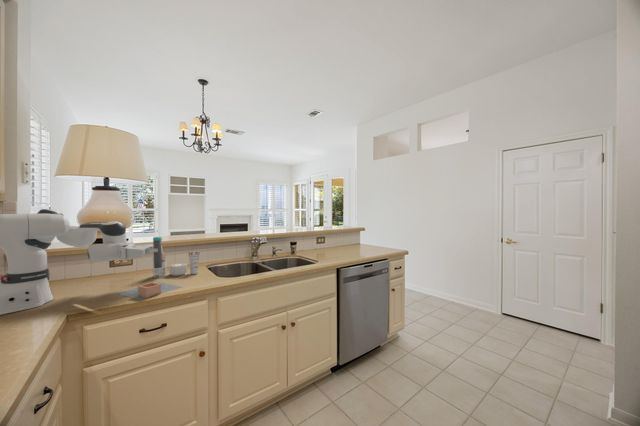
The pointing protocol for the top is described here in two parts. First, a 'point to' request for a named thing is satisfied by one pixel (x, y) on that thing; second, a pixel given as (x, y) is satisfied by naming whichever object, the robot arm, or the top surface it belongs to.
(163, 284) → the board
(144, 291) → the pink open box
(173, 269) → the cosmetic set
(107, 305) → the top surface
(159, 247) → the marker
